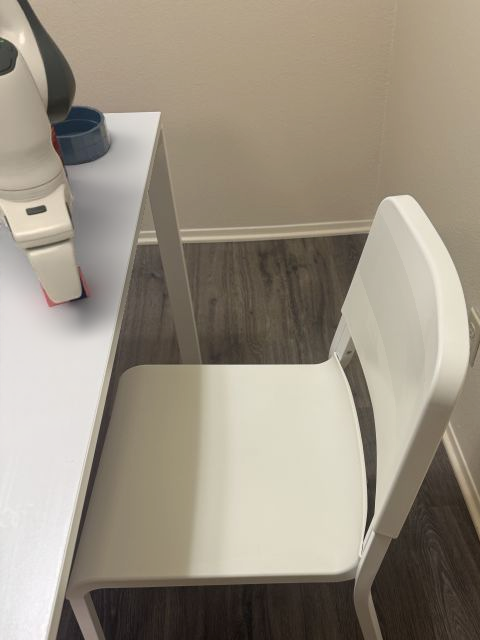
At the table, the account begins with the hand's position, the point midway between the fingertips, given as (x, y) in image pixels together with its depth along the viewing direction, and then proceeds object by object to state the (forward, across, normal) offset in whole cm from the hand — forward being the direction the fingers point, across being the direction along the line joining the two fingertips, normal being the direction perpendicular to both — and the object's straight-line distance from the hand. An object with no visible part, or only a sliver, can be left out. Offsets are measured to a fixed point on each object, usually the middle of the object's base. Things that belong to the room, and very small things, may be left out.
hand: (64, 286), depth 83 cm
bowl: (+2, -41, +10) cm, 42 cm away
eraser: (+2, 0, 0) cm, 2 cm away
